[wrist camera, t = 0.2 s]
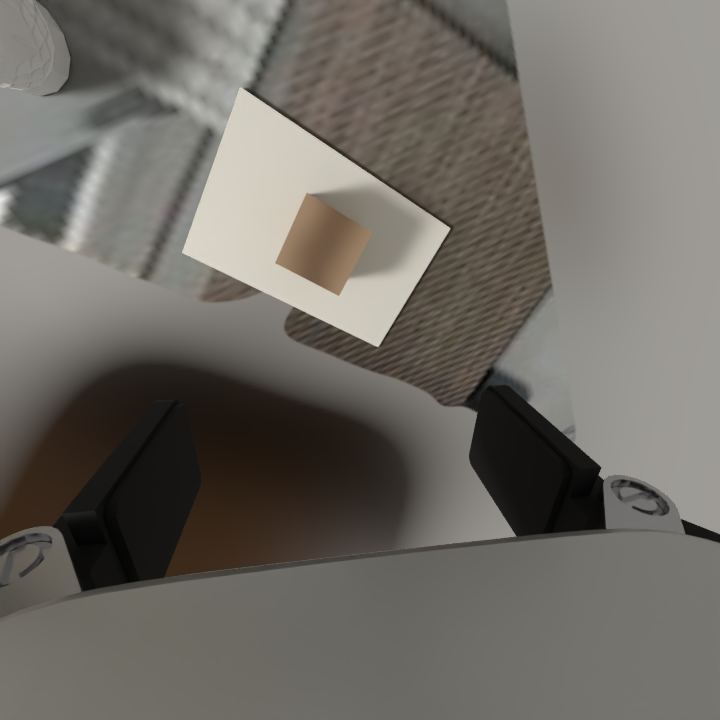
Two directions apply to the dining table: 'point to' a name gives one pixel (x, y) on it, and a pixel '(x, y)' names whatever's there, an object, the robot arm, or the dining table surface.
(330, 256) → the walnut block
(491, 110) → the dining table surface
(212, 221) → the board
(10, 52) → the white cup
